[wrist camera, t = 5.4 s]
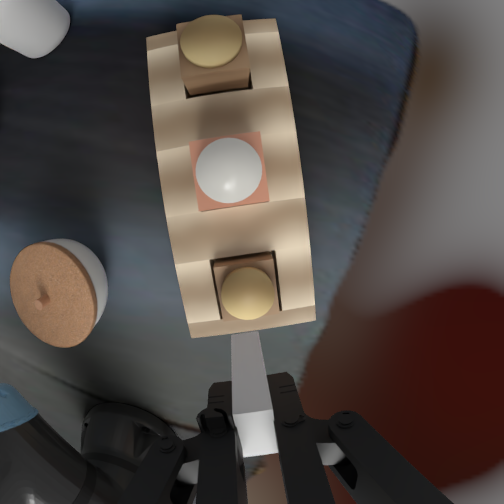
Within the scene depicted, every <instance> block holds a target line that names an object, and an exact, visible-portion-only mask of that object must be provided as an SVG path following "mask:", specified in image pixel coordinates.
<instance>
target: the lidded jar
mask: <svg viewBox="0 0 504 504" xmlns="http://www.w3.org/2000/svg"><path fill="white" fill-rule="evenodd" d="M10 290H11V296H12V300H13V303H14V306H15V309H16V311H17V313H18V315H19V316H20V318H21V320H22V321H23V323H24V324H25V325H26V327H27V328H28V329H29V330H30V331H31V332H32V333H33V334H34V335H35V336H36V337H38V338H39V339H41V340H42V341H44V342H46V343H48V344H50V345H53V346H56V347H63V348H65V347H72V346H76V345H78V344H80V343H81V342H82V341H84V340H85V339H86V338H87V336H88V335H89V334H90V332H91V331H92V329H93V327H94V326H95V325H96V324H97V322H98V321H99V319H100V317H101V315H102V313H103V311H104V309H105V306H106V303H107V297H108V281H107V276H106V273H105V270H104V268H103V265H102V264H101V262H100V260H99V259H98V257H97V256H96V255H95V254H94V253H93V252H92V251H91V250H90V249H89V248H88V247H86V246H85V245H83V244H81V243H79V242H77V241H74V240H70V239H62V238H61V239H50V240H46V241H43V242H38V243H34V244H31V245H29V246H27V247H25V248H24V249H23V250H22V251H20V253H19V254H18V255H17V257H16V258H15V260H14V262H13V265H12V269H11V274H10Z"/></svg>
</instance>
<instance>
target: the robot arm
mask: <svg viewBox="0 0 504 504" xmlns="http://www.w3.org/2000/svg"><path fill="white" fill-rule="evenodd" d="M231 361H232V381H226V382H218V383H213V385H212V386H211V387H210V389H209V393H208V405H207V408H206V409H204V410H202V411H201V412H200V413H199V414H198V416H197V418H196V419H197V422H198V425H199V428H200V430H201V433H200V434H199V435H197V436H195V437H193V438H190V439H186V440H183V441H182V440H181V439H180V438H179V437H177V436H176V435H175V434H174V432H173V431H172V430H171V429H170V428H169V426H167V425H166V424H165V423H164V422H163V421H161V420H160V419H159V418H157V417H156V416H154V415H152V414H151V413H149V412H147V411H144V410H142V409H140V408H137V407H134V406H131V405H127V404H122V403H102V404H99V405H96V406H94V407H93V408H92V409H91V410H90V411H89V412H88V414H87V416H86V418H85V420H84V422H83V425H82V435H81V454H80V453H79V452H77V451H76V450H75V449H74V448H73V447H72V446H71V445H70V444H69V443H68V442H66V441H65V440H64V439H63V438H62V437H61V436H60V435H59V434H58V433H57V432H56V431H55V430H54V429H53V428H52V427H51V426H50V425H49V424H48V423H47V422H46V421H45V420H44V419H43V418H42V417H41V416H40V415H39V413H38V410H37V409H36V408H34V407H32V406H31V405H30V404H29V403H28V402H27V401H26V400H25V399H24V397H23V396H22V395H21V394H20V393H19V392H18V391H17V390H16V389H15V388H14V387H13V386H11V385H9V384H6V383H0V504H192V503H193V501H194V498H195V496H196V504H248V499H247V488H246V487H247V486H246V473H245V465H244V461H243V456H244V457H250V456H258V455H265V454H272V453H279V459H280V466H281V471H282V476H283V482H284V487H285V493H286V498H287V503H288V504H335V501H334V498H333V495H332V492H331V489H330V485H329V482H328V479H327V476H326V473H325V470H324V466H323V465H329V467H330V469H331V470H332V471H333V473H334V474H335V475H336V477H337V478H338V479H339V481H340V482H341V483H342V485H343V486H344V487H345V489H346V490H347V491H348V492H349V494H350V495H351V496H352V498H353V499H354V500H355V501H356V503H357V504H454V503H452V502H451V501H450V500H449V499H448V498H447V497H446V496H445V495H444V494H442V493H441V492H440V491H439V490H438V489H437V488H436V487H435V486H434V485H433V484H432V483H430V482H429V481H428V480H427V479H426V478H425V477H424V476H423V475H422V474H421V473H420V472H419V471H418V470H416V469H415V468H414V467H413V466H412V465H411V464H410V463H409V462H408V461H407V460H406V459H405V458H404V457H403V456H402V455H401V454H400V453H399V452H397V451H396V450H395V449H394V448H393V447H392V446H391V445H390V444H389V443H388V442H387V441H386V440H385V439H384V438H383V437H382V436H381V435H380V434H379V433H378V432H377V431H376V430H375V429H374V428H373V427H372V426H371V425H370V424H368V422H367V421H366V420H365V419H364V418H362V416H361V415H359V414H358V413H356V412H353V411H341V412H337V413H335V414H334V415H333V416H331V418H330V419H329V420H318V419H313V418H311V417H309V416H307V415H306V414H305V413H304V411H303V408H302V405H301V402H300V399H299V395H298V392H297V389H296V386H295V383H294V379H293V377H292V376H291V375H290V374H288V373H287V372H283V373H277V374H271V375H266V370H265V365H264V360H263V354H262V349H261V344H260V338H259V333H258V331H255V332H248V333H241V334H234V335H231ZM196 493H197V495H196Z"/></svg>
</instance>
